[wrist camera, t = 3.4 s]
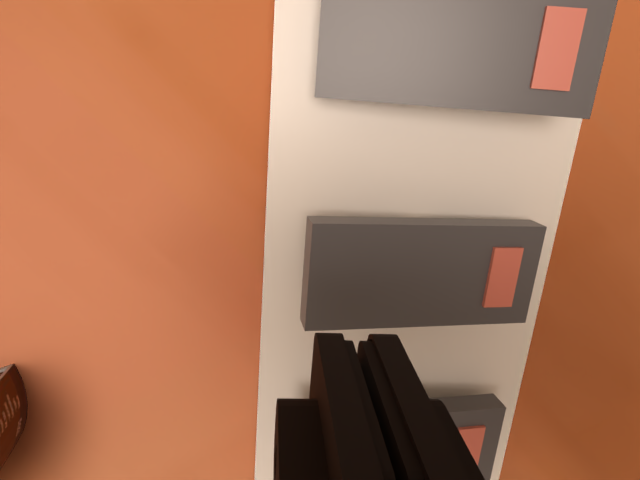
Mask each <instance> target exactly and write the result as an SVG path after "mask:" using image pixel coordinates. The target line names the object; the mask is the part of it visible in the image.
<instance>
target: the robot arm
mask: <svg viewBox="0 0 640 480" xmlns="http://www.w3.org/2000/svg"><path fill="white" fill-rule="evenodd" d="M273 480H485V479H484V477H483V475H482V473H481V471H480V469H479V468H478V466H477V464H476V462H475V460H474V458H473V456H472V455H471V453H470V451H469V449H468V447H467V445H466V443H465V441H464V440H463V438H462V436H461V434H460V432H459V430H458V428H457V427H456V425H455V423H454V421H453V419H452V417H451V415H450V413H449V412H448V410H447V408H446V406H445V405H444V403H443V402H442V401H441V400H439V399H429V397H428V395H427V393H426V391H425V389H424V387H423V385H422V383H421V381H420V379H419V377H418V375H417V373H416V371H415V369H414V367H413V365H412V363H411V361H410V359H409V357H408V355H407V353H406V351H405V349H404V347H403V345H402V343H401V341H400V339H399V337H398V335H397V334H369V336H368V339H367V341H359V344H358V350H357V352H356V349H355V346H354V343H353V341H352V340H344V336H343V334H342V333H315V336H314V344H313V356H312V368H311V380H310V393H309V399H293V398H277V403H276V417H275V436H274V470H273Z"/></svg>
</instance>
